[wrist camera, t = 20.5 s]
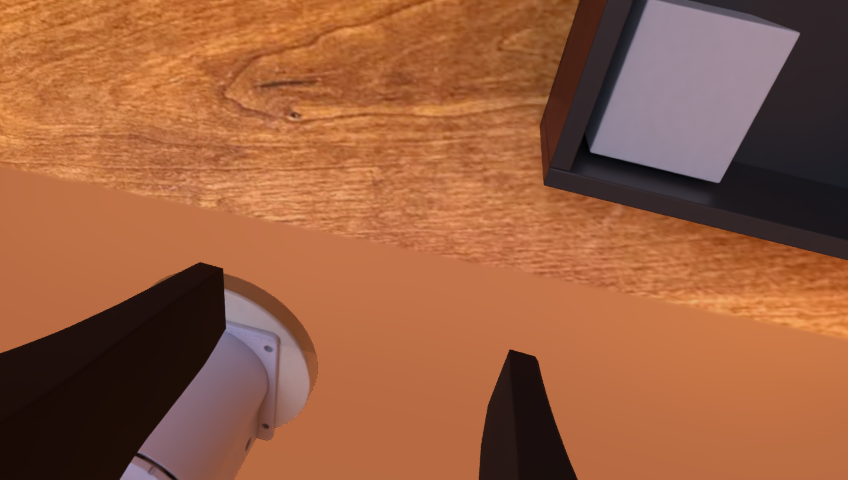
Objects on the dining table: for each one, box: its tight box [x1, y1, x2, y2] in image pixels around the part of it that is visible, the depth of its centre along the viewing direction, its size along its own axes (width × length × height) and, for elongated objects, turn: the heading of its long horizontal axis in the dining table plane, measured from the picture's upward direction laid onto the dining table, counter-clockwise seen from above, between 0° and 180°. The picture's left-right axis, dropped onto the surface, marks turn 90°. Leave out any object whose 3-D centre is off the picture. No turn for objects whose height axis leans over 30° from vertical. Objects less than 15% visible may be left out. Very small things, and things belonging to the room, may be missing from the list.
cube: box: [584, 0, 800, 183], centre depth 16 cm, size 4×4×4 cm
